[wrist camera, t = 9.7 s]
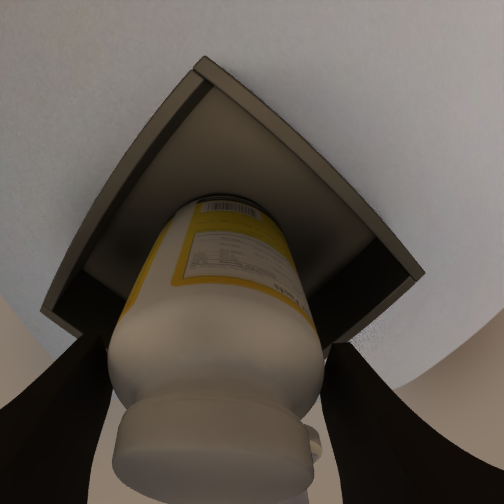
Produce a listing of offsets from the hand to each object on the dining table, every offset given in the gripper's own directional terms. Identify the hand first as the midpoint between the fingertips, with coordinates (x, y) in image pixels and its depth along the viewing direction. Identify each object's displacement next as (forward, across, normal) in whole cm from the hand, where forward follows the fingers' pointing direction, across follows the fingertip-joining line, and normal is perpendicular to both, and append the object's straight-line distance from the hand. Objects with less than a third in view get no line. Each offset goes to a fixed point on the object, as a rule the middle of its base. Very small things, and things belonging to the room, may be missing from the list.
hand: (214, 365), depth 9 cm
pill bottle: (+8, 0, 0) cm, 8 cm away
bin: (+8, 0, 0) cm, 8 cm away
